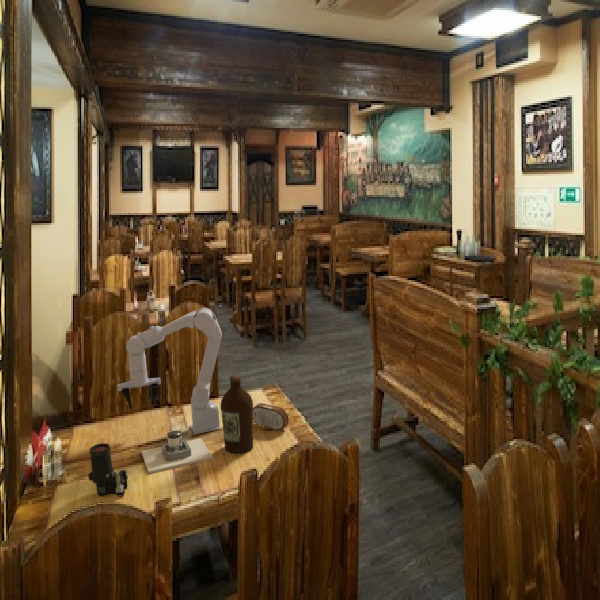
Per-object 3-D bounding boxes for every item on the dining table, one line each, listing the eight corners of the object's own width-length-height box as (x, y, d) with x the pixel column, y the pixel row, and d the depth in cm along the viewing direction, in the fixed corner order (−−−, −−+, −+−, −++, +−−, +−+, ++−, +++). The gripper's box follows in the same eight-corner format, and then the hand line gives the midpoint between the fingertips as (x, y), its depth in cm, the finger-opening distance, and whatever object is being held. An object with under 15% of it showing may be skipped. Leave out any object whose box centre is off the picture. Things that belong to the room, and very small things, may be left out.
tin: (289, 430, 187) (288, 408, 185) (284, 433, 184) (283, 411, 183) (256, 422, 195) (255, 400, 193) (250, 425, 192) (249, 403, 191)
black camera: (117, 453, 143) (80, 455, 143) (122, 499, 146) (85, 501, 145) (125, 439, 151) (90, 442, 151) (129, 483, 154) (95, 486, 153)
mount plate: (201, 440, 181) (200, 432, 180) (212, 458, 167) (211, 450, 167) (141, 453, 173) (140, 444, 172) (148, 473, 159) (147, 464, 159)
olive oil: (235, 438, 182) (231, 369, 177) (261, 444, 176) (257, 373, 172) (216, 451, 172) (212, 379, 168) (243, 457, 167) (238, 383, 163)
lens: (177, 449, 173) (176, 429, 172) (186, 452, 170) (184, 432, 169) (166, 454, 170) (164, 434, 169) (174, 458, 167) (172, 437, 166)
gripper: (157, 363, 190) (160, 398, 192) (115, 369, 184) (119, 406, 187) (160, 368, 184) (163, 405, 186) (117, 375, 178) (121, 413, 180)
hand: (141, 406), depth 186 cm, fingers open, 7 cm apart
